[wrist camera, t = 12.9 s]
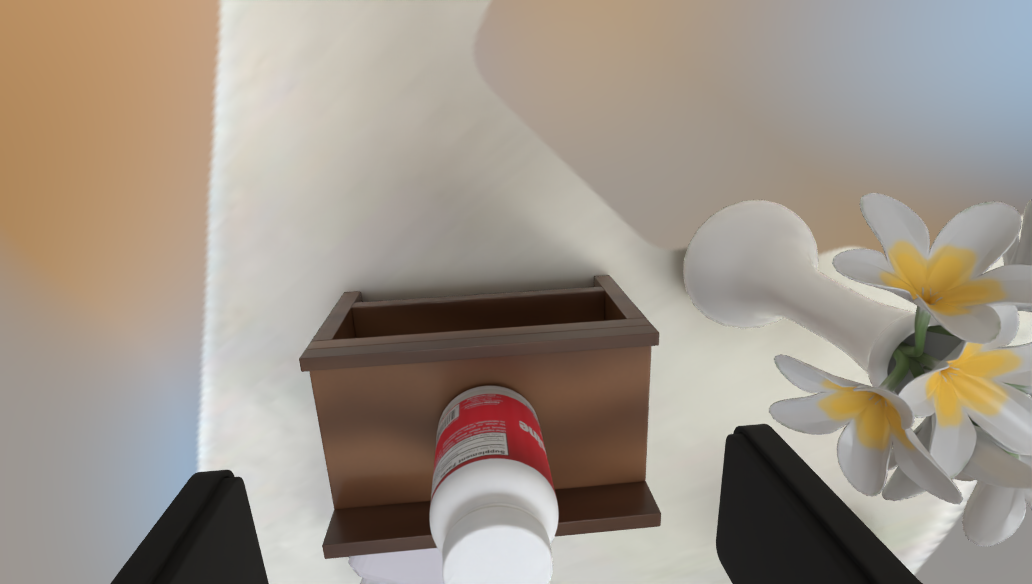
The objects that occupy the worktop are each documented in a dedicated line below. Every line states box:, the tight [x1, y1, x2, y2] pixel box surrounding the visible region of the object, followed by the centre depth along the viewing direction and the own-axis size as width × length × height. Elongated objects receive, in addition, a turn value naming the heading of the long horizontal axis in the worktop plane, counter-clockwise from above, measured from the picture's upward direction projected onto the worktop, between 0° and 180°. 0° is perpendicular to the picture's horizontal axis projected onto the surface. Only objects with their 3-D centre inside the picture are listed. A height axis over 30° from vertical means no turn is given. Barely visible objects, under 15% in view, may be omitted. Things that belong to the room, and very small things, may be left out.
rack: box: [299, 275, 661, 559], centre depth 36 cm, size 12×20×13 cm, turn 93°
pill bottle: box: [429, 386, 559, 584], centre depth 28 cm, size 6×6×11 cm
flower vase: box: [683, 193, 1032, 546], centre depth 30 cm, size 13×18×25 cm
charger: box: [349, 548, 444, 584], centre depth 45 cm, size 5×9×15 cm
